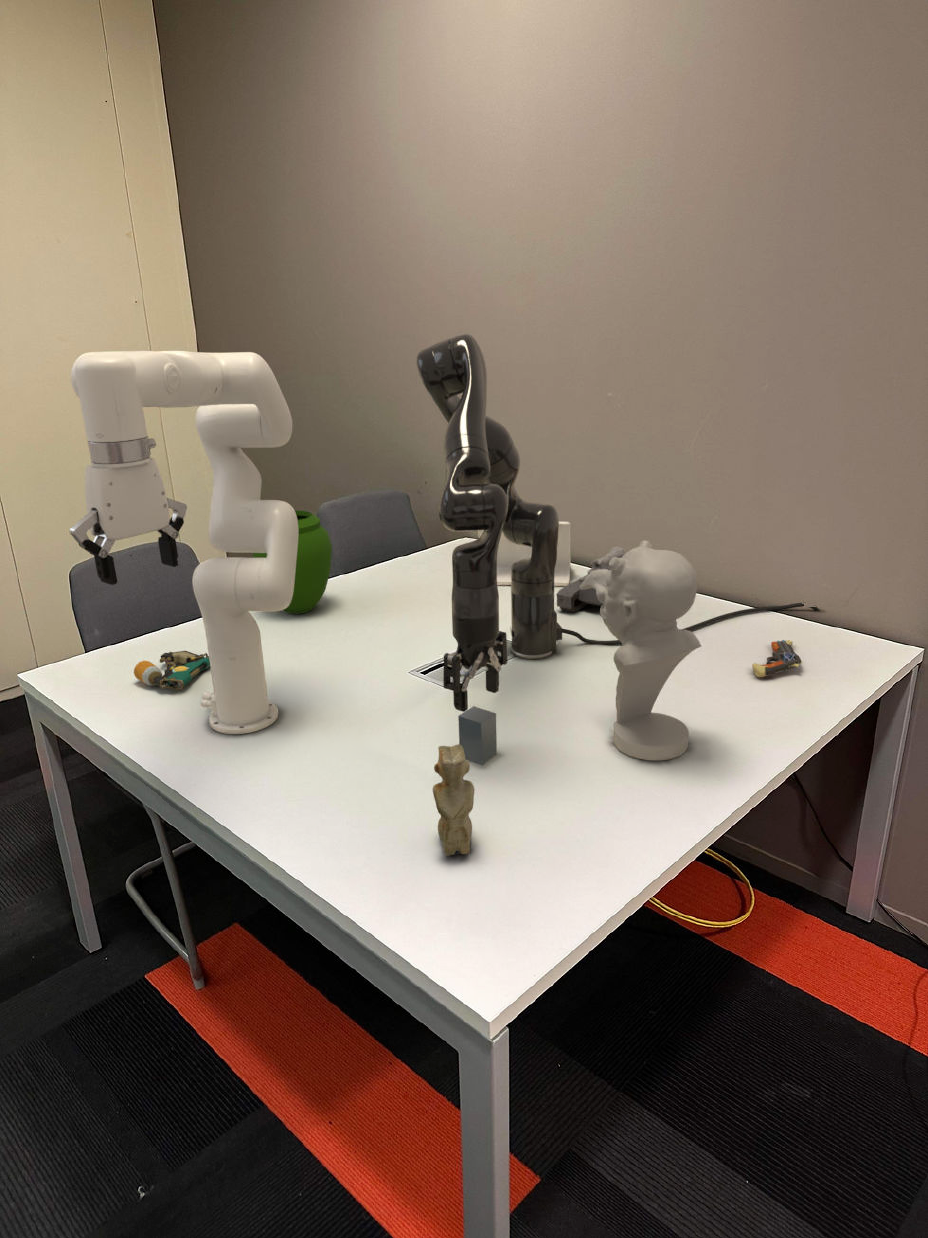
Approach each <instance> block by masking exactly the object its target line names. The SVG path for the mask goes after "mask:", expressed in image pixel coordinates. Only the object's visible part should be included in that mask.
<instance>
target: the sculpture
mask: <svg viewBox="0 0 928 1238" xmlns="http://www.w3.org/2000/svg"><path fill="white" fill-rule="evenodd" d="M437 751H438V758H437V762H436V763H435V764H434V767H433V770H434V772H435V773H436V774H437V775H438V776H439V777H441V779H442V781H441V782H437V783H435V784H434V785H433V786H432V794H433V798H434V803H435V808H436V810H437V812H438V814H439V815H440V818H439V819H438V821H437V833H438V837H439V839H440V840H439V841H440V842H441V844H442V848H443V853H444V855H445V856H455V854H456V851H459V853H460V855H468V854H470V852H471V851H470V850H471V838H472V836H473V822H472V820H471V818H470V813H471V812H472V811H473V808H474V800H475V798H474V797H475V786H474V783H473V782H472V781H471V780H468V779H464V777H465V775H467V774H468V773H469V771H470V770H471V765H470V761H468V760H465V754H464V751H463V747H462V746H461V745H460V744H459V743H458V744H454V745H451V746H450V745H449V746H448V745H440V746H438V747H437Z"/></svg>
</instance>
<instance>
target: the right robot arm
mask: <svg viewBox="0 0 928 1238" xmlns="http://www.w3.org/2000/svg"><path fill="white" fill-rule="evenodd" d="M415 361H416V363H415V364H416V369H417V372H418V375H419V377H420V379H421V382H422V384H423V386H424V388H425V389H426V391H427V392H428V395H429V396H430V397H431V399H432V401H433V402H434V404H435V405H436V407H437V408H438V410H439V412H440V413H441V415H442V416H443V418H444V419H445V420H446V422H447V425H446V429H445V432H444V436H443V452H444V453H443V454H444V463H445V479H444V484H443V488H442V491H441V495H440V500H439V504H438V516H439V520H440V521H441V522H440V523H441V524H442V525H443V527H445V528H446V530H449V531H450V532H473V531H475V532H476V531H477V530H484V532H483V534H482V535H481V536H480V538H477V539H475V540H473V541H469V542H465V543H462V544H460V545H457V546H455V547H454V549H453V551H452V554H451V556H452V557H451V566H452V567H451V569H452V572H451V573H452V588H451V626H452V629H451V630H452V636H453V638H454V639H455V641H456V643H457V648H456V651H455V652H453V653H449V652H445V653H444V655H443V682H442V683H443V689H444V690H445V689H446V690H450V691H452V693H453V707H454V709H455V710H457V711H460V712H462V713H463V712H465V711H467V710H468V709H469V704H468V703H469V699H468V698H469V696H468V690H467V689H468V686H469V684H470V681H471V680H473V679H474V677H475V675H476V673H477V671H479V670H480V669H481V668H484V667H485V690H486V691H487V692H489V693H493V694H497V693H498V692H499V689H500V688H499V687H500V672H501V671H502V666H506V665H507V664H508V662H509V661H508V641H507V633H506V632H505V631H501V630H500V597H499V595H500V594H499V587H498V585H497V553H498V546H499V541H500V537H501V533H502V532H503V534H504V536H505V537H506V539H507V540H508V541H510V542H511V543H514V544H516V545H522V546H528V547H532V554H531V558H526V559H522V560H519V561H516V562H515V563H513V565H512V567H511V585H510V588H511V589H510V597H511V599H510V603H511V604H510V606H511V607H510V609H511V610H510V615H511V617H510V618H511V621H510V622H511V625H510V626H509V629H510V630H509V631H510V635H511V643H510V644H511V647H510V651H511V653H512V655H513V656H515V657H518V658H521V659H525V660H526V659H527V660H540V659H545V658H548V657H550V656H552V655H557V654H558V653H557V650H558V649H557V648H558V647H557V645H558V644H557V643H558V641H562V640H563V634H566V635H569V636H570V635H571V636H574V637H576V638H577V639H578V640H580V641H581V642H582V643H585V644H587V645H588V644H589V645H597V646H598V645H599V646H615V645H616V646H617V645H623V644H622V642H620V641H619V640H618V639H615V640H613V639H612V640H596V639H595V640H594V639H590V638H586V637H584V636H582V634H580V633H579V632H577V631H574V630H572V629H567V628H563V627H562V626H561V625H560V623H558V613H557V612H556V611H555V586H554V571H555V566H556V562H557V547H558V533H559V522H560V520H559V514H558V511H557V509H556V507H554V506H553V505H551V504H547V503H541V502H532V501H526V500H524V499H522V498H521V497H520V496H519V494H518V492H517V490H516V487H515V483H516V480H517V478H518V475H519V471H520V468H521V458H520V454H519V451H518V449H517V447H516V445H515V443H514V441H513V438H512V436H511V435H510V432H509V431H508V429H507V428H506V427H505V426H504V425H502V424H501V423H500V422H498V421H497V420H495V419H494V418H491V417H489V415H487V399H488V398H487V396H488V395H487V393H488V372H487V365H486V360H485V356H484V353H483V351H482V349H481V346H480V345H479V342H478V341H477V339H476V338H475V337H474V336H473V335H472V334H469V333H462V334H459V335H456V336H453V337H450V338H447V339H445V340H443V341H440V342H438V343H435V344H432V345H430V346H427V347H426V348H423V349H422V350H420V351H419V352H418V354H417V355H416V360H415ZM459 395H461V397H460V396H459ZM477 532H478V531H477ZM802 603H803V602H794V603H789V604H783V605H771V606H769V605H768V606H760V607H752V608H745V609H740V610H736V611H732V612H731V611H730V612H728V613H724V614H721V615H718V616H714V617H712V618H710V619H706V620H704V621H701V622H698V623H696V624H692V625H690V626H687V627H685V628H682V629H683V630H688V631H691V632H692V631H693V630H696V629H699V628H702V627H705V626H707V625H709V624H710V625H711V624H713V623H715V622H718V621H722V620H724V619H728V618H731V617H736V616H740V615H744V614H752V613H756V612H757V613H758V612H765V611H766V612H767V611H782V610H788V609H794V608H801V607H803V606H804V604H802ZM803 608H804V607H803ZM809 608H810V609H812V610H813V611H814V612H820V611H821V610H820V608H819V607H817V606H816V607H809ZM499 653H500V655H499ZM462 668H464V669H465V670H462ZM461 677H463V678H462V681H461ZM451 678H452V679H451Z"/></svg>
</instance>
